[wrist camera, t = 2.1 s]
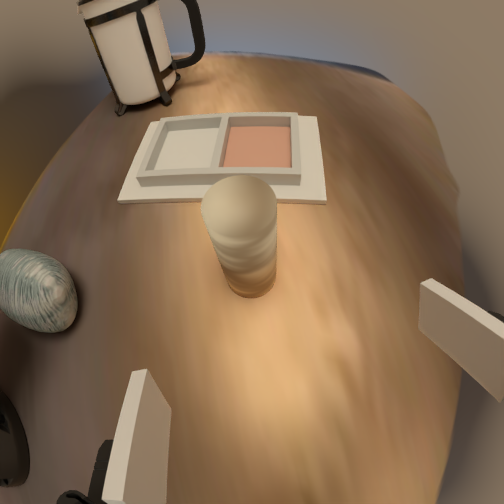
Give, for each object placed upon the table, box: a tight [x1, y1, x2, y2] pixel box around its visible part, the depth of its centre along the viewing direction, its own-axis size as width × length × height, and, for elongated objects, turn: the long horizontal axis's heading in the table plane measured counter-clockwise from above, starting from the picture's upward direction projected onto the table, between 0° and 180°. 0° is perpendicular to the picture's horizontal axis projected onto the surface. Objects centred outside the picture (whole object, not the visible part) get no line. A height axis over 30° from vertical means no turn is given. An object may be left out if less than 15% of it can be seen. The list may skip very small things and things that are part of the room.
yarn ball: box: [0, 249, 78, 333], centre depth 26 cm, size 14×10×10 cm
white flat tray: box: [118, 112, 327, 205], centre depth 36 cm, size 26×16×3 cm, turn 86°
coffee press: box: [77, 0, 205, 116], centre depth 34 cm, size 17×16×30 cm
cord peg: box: [201, 175, 277, 298], centre depth 24 cm, size 5×5×12 cm
